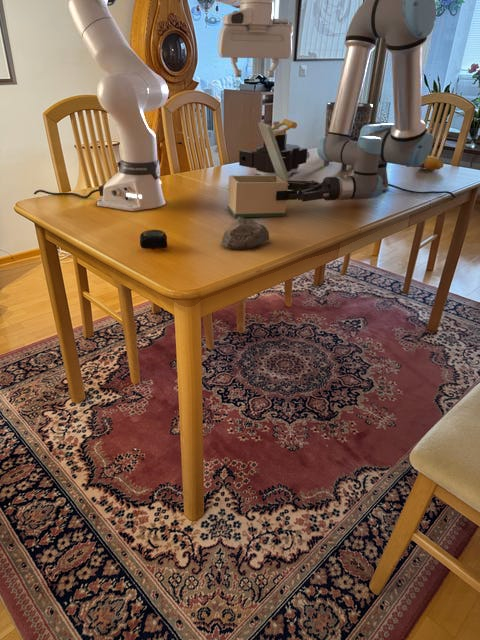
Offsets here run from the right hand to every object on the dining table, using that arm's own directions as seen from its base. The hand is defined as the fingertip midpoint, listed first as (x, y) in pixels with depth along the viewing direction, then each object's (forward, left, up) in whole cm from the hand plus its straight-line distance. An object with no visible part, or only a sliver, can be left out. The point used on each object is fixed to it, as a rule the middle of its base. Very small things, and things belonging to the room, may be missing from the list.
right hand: (271, 191), depth 144 cm
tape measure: (+29, +37, -7) cm, 47 cm away
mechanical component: (-4, -57, -7) cm, 57 cm away
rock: (+6, +31, -7) cm, 32 cm away
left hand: (+7, +2, +32) cm, 33 cm away
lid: (+1, 0, +12) cm, 12 cm away
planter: (-32, -75, -7) cm, 82 cm away
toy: (-72, -76, -7) cm, 105 cm away
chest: (+5, +2, -6) cm, 8 cm away
